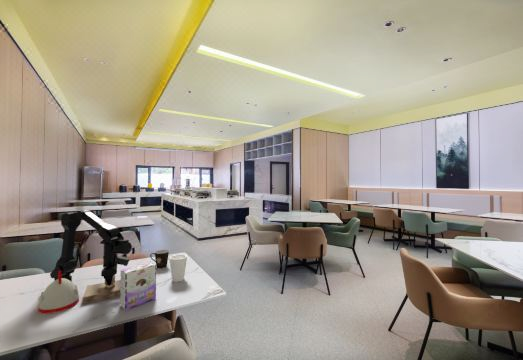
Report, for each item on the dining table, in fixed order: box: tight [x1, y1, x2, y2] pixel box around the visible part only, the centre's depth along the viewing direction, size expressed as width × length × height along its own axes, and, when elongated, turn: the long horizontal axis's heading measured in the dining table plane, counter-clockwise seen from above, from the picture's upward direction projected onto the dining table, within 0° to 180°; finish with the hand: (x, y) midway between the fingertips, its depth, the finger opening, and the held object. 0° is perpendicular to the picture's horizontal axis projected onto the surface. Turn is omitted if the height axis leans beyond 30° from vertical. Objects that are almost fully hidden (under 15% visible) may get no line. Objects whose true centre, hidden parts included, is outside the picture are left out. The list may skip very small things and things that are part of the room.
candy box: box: [119, 262, 157, 311], centre depth 110 cm, size 14×6×16 cm, turn 141°
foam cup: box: [168, 254, 188, 283], centre depth 136 cm, size 10×9×13 cm
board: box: [82, 279, 121, 304], centre depth 119 cm, size 16×14×3 cm
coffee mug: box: [149, 249, 170, 270], centre depth 157 cm, size 12×9×10 cm
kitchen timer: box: [37, 271, 80, 315], centre depth 107 cm, size 14×14×15 cm
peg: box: [104, 274, 116, 289], centre depth 120 cm, size 4×4×8 cm
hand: (109, 283), depth 120 cm, fingers closed on peg, 4 cm apart
